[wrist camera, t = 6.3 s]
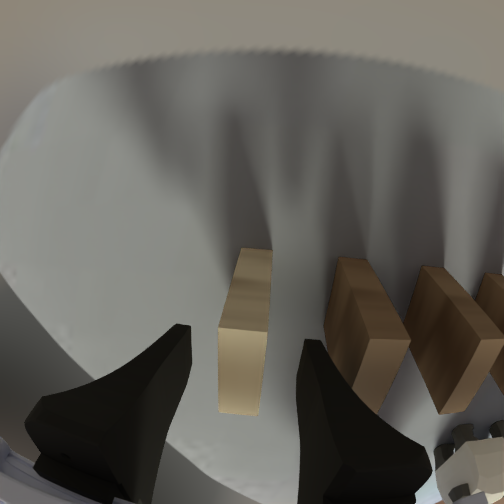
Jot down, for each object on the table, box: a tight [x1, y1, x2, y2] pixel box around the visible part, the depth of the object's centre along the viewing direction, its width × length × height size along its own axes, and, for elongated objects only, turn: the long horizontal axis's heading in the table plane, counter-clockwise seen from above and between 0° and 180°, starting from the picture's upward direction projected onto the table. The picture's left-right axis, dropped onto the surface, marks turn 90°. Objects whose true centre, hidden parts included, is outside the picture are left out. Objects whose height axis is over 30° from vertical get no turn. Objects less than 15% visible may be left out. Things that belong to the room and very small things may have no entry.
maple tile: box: [218, 248, 273, 416], centre depth 14 cm, size 4×2×7 cm, turn 177°
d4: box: [403, 266, 504, 415], centre depth 14 cm, size 4×2×7 cm, turn 175°
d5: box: [324, 257, 411, 414], centre depth 14 cm, size 4×2×7 cm, turn 175°
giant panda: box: [434, 420, 504, 504], centre depth 18 cm, size 15×6×10 cm, turn 77°
